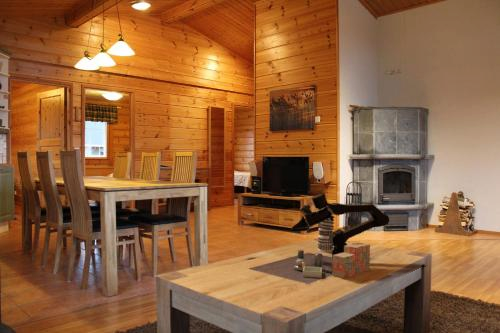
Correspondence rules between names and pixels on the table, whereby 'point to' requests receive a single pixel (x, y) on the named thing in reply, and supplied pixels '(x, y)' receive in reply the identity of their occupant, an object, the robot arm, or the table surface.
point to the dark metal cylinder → (318, 260)
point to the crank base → (299, 267)
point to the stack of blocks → (351, 260)
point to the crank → (300, 258)
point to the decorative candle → (325, 235)
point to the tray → (312, 272)
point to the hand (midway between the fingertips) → (291, 229)
